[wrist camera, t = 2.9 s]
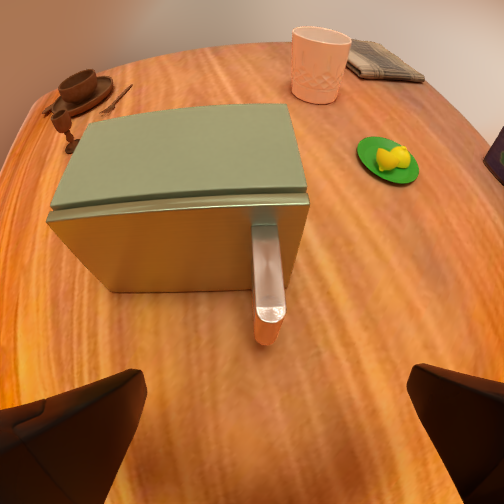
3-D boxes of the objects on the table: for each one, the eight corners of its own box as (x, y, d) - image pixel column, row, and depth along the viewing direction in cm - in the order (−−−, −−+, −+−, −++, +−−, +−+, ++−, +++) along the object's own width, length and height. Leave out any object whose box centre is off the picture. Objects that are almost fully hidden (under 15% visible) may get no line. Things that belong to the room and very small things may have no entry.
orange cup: (287, 79, 40) (292, 23, 31) (336, 85, 40) (346, 31, 31) (287, 103, 36) (293, 38, 28) (343, 110, 36) (357, 48, 27)
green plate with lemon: (405, 198, 28) (416, 181, 26) (344, 160, 30) (350, 141, 28) (423, 164, 31) (431, 148, 29) (370, 132, 34) (376, 115, 31)
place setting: (140, 79, 42) (134, 50, 36) (79, 153, 32) (62, 119, 27) (69, 89, 43) (60, 66, 38) (8, 158, 33) (-7, 132, 28)
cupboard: (286, 276, 24) (307, 186, 14) (113, 282, 23) (49, 205, 14) (276, 199, 27) (286, 103, 18) (127, 207, 27) (88, 123, 18)
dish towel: (426, 85, 44) (430, 73, 41) (359, 80, 41) (363, 65, 39) (375, 47, 53) (378, 37, 50) (311, 43, 50) (313, 31, 47)
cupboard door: (294, 353, 20) (329, 307, 11) (104, 353, 20) (21, 308, 11) (286, 278, 23) (308, 192, 14) (112, 283, 23) (48, 210, 14)
